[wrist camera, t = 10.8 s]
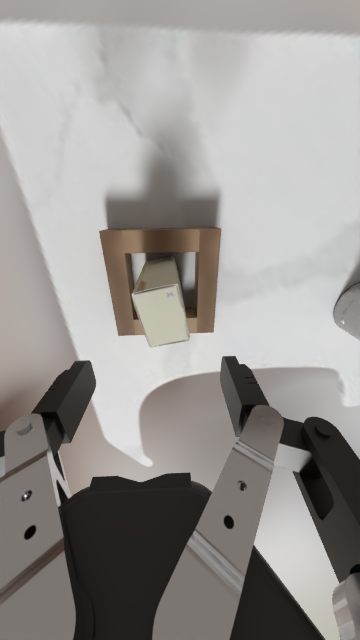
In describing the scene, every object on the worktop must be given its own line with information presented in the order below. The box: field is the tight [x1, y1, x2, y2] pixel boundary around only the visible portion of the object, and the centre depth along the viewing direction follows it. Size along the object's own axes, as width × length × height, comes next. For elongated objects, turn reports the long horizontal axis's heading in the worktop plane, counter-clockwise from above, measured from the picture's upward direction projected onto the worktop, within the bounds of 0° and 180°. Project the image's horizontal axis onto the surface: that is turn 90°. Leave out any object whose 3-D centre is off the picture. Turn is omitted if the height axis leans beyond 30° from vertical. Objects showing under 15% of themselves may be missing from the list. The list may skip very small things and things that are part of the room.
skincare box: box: [132, 256, 190, 347], centre depth 24 cm, size 6×4×12 cm
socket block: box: [99, 227, 221, 336], centre depth 28 cm, size 14×14×4 cm
